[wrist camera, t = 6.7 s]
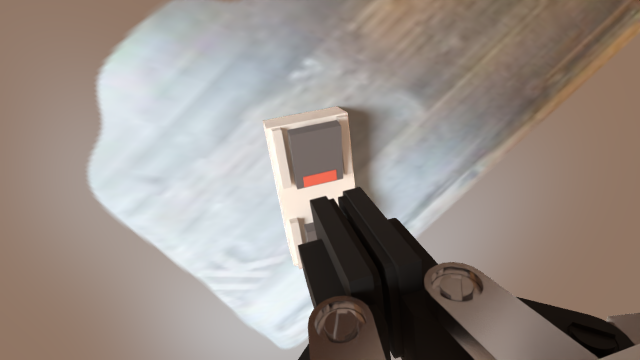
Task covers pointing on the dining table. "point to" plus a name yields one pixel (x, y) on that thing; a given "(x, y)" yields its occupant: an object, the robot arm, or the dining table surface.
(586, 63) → the dining table surface
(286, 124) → the rocker switch panel
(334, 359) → the robot arm
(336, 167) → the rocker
